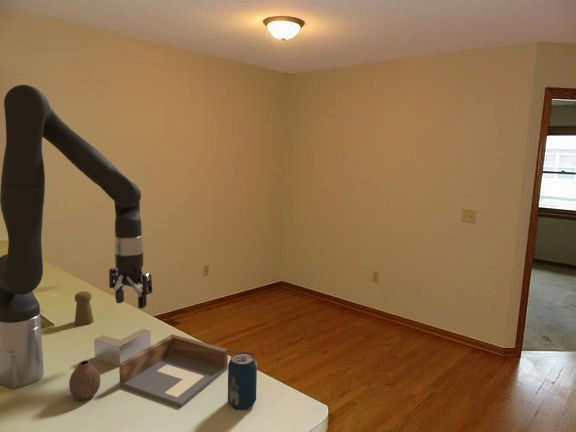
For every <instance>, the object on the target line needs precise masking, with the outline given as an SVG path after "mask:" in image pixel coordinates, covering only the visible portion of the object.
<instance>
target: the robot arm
mask: <svg viewBox="0 0 576 432" xmlns="http://www.w3.org/2000/svg"><path fill="white" fill-rule="evenodd" d="M3 107H4V109H3V110H4V120H5V137H6V138H5V149H4V155H3V159H2V161H3V162H2V168H1V169H2V170H1V179H0V209H1V215H2V219H3V221H4V225H5V227H6V231H7V236H8V238H7V240H8V241H7V242H8V244H7V246H8V247H7V253H6V254H3V255H1V256H0V385H3V386H5V387H7V388H9V389H13V390H14V389H17V388H19V387H23V386H27V385H29V384H32V383H35V382H37V381H38V380H40V379H41V378H42V377H43V376H44V374H45V373H44V372H45V371H44V370H45V369H44V358H43V357H44V356H43V340H42V325H41V324H42V321H41V307H40V303H39V301H38V300H37V297H36V296H35V294H34V291H35V290H36V289H37V288H38V286H39V285H40V284H41V281H42V279H43V275H44V265H43V248H42V231H43V218H44V215H43V214H44V204H45V189H46V188H45V187H46V175H45V174H46V173H45V165H44V158H43V157H44V156H43V148H42V147H43V146H42V145H43V139H45V140H46V141H47V142H49V143H50V144H51V145H53V146H54V147H55V148H56V149H57V150H58V151H59V152H60V153H62V155H63V156H64V157H65V158H66V159H67V160H68V161H69V163H71V164H72V165H73V166H74V167H76V168H77V170H79V171H80V172H81V173H82V174H84V176H86V177H87V178H88V179H89V180H90V181H92V183H94V184H96V185H97V186H99V188H100V189H101V190H103V191H104V192H105V194H106V195H107V196H108V197H109V198H110V199H111V200H113V202H114V210H115V211H114V212H115V213H114V214H115V219H114V235H115V237H114V259H115V260H114V261H115V263H114V264H115V265H114V266H115V267H112V268H109V271H108V274H109V276H108V277H109V278H108V279H109V281H108V285H109V287H108V288H110V289H113V291H114V292H115V293H114V294H115V301H116V302H115V303H117V304H121V303H124V301H125V296H124V295H125V294H124V293H125V292H124V287H125V286H128V287H131V288H132V290H134V291H135V292H136V294H137V295H138V296H137V306H138V307H137V308H138V309H140V310H142V309H145V308H146V306H147V295H150V294H152V293H153V283H152V282H153V281H152V274H151V272H148V273H143V270H142V269H143V267H144V242H143V235H142V234H143V233H142V230H143V229H142V228H143V227H142V219H141V215H140V213H141V211H140V210H141V209H140V208H141V207H140V205H141V203H140V202H141V198H142V192H141V190H140V188H139V186H138V185H137V184H136V183H134V182H133V181H131V180H130V179H129V178H128V177H127V176H125V174H123V173H122V172H121V171H119V170H118V168H116V166H115V165H114V164H113V163H112V162H111V161H110V160H109V159H108V158H106V156H105V155H103V154H102V153H101V152H100V151H99V150H98V149H97V148H95V147H94V146H93V145H91V144H90V142H88V141H86V140H85V139H84V138H83V137H82V136H80V135H79V134H77V133H76V132H75V131H74V130H73V129H72V128H71V127H69V126H68V125H67V124H66V123H65V122H64V121H63V120H62V119H61V117H59V114H57V113H56V112H55V111H54V109H53V108H52V107H51V106H50V103H49V101H48V99H47V97H46V96H45V94H43V93H42V92H41V90H39V89H38V88H36V87H35V86H31V85H28V84H19V85H16V86H13V87H11V89H9V90H8V91H7V92H6V94H5V96H4V100H3Z"/></svg>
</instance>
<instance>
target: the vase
mask: <svg viewBox="0 0 576 432" xmlns="http://www.w3.org/2000/svg"><path fill="white" fill-rule="evenodd" d="M68 387H69V388H68V389H69V392H70V394H71V396H72V397H73V398H74V399H76V400H78V401H87V400H89V399H91V398H93V397H94V396H95V395H96V394H97V393H98V391H99V389H100V387H101V375H100V372H99V370H98V369H97V367H95V366H94V365H93V364H92V363H91V362H90V360H88V359H87V360H82V361H79V363H78V364H77V366H76V368H75V369H74V371H73V372H72V373H71V375H70V378H69V381H68Z"/></svg>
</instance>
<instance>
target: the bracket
mask: <svg viewBox="0 0 576 432" xmlns="http://www.w3.org/2000/svg"><path fill="white" fill-rule="evenodd" d="M151 333H152V332H151V330H149V329H145V328H141V329H140V330H137V331H135V332H133V333H132V334H129V335H127V336H125V337H123V338H121V339H117V338H114V337H111V336H108V335H104V334H102V335H100V336H98V337H95V338H93V342H94V343H93V344H94V359H96V360H98V361H102V362H106V363H108V364H111V365H114V366H116V367H117V366H118V367H119V364H120V363H122V362H124V361H125V360H127V359H129V358H131V357H133V356H134V355H136V354H138V353H140V352H141V351H143V350H145V349H147V348H149V347H150V346H152V344H151V343H152V342H151V341H152V339H151Z"/></svg>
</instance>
